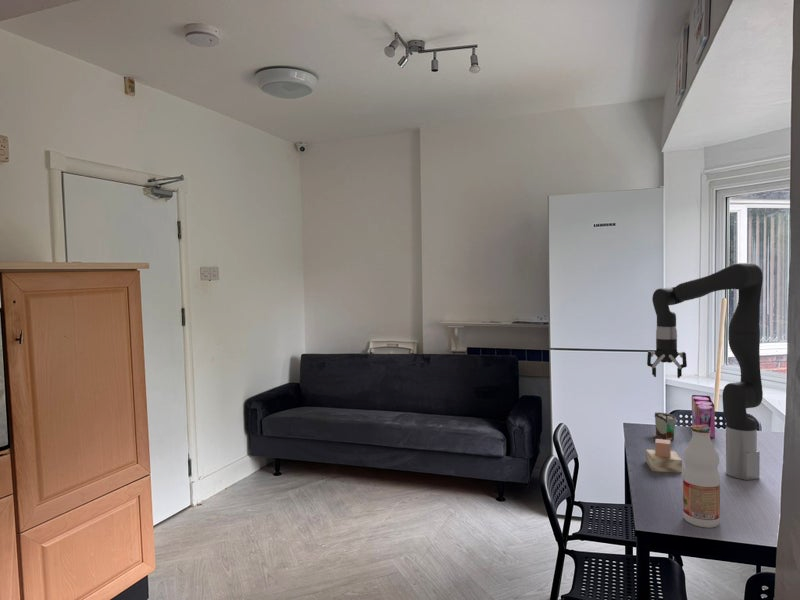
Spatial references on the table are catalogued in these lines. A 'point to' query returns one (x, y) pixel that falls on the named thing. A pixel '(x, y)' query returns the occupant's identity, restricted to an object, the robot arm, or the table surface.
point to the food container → (665, 425)
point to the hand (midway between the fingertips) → (666, 377)
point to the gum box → (703, 412)
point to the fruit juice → (701, 480)
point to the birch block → (664, 462)
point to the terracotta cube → (662, 448)
